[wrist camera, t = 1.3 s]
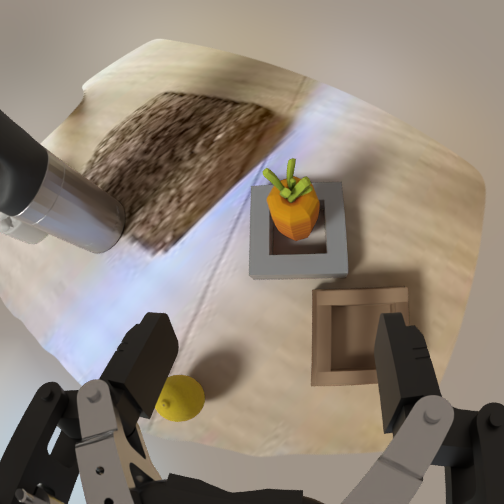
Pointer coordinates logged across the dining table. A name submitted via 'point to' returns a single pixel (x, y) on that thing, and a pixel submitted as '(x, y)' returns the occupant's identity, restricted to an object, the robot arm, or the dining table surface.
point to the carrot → (292, 203)
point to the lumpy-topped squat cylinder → (20, 230)
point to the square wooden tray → (350, 332)
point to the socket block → (298, 265)
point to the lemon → (180, 398)
